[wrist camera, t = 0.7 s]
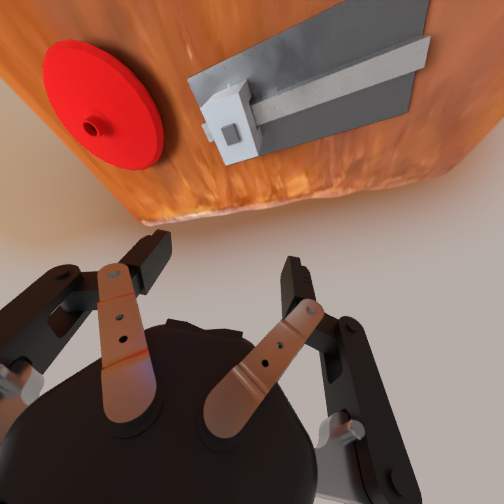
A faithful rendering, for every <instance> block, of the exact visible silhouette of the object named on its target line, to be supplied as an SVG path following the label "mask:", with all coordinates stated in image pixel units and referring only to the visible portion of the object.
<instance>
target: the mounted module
mask: <svg viewBox="0 0 504 504" xmlns="http://www.w3.org/2000/svg"><path fill="white" fill-rule="evenodd" d="M250 99H251V94H250V90H249V87H248V83H247V80H245V81H243V82H241V83H238V84H236V85H234V86H232V87H229V88H227V89H225V90H222V91H220V92H218V93H216V94H213V95H212V97H211V98H210V99H209V100H208V101H207V102H206V103H205V104H204V105H203V106H202V107H201V108H200V109H201V112H202V114H203V116H204V118H205V120H206V123H207V125H208V127H209V129H210V131H211V134H212V136H213V138H214V140H215V143H216V145H217V147H218V149H219V151H220V154H221V156H222V158H223V160H224V162H225V165H230V164H233V163H236V162H240V161H243V160H247V159H250V158H253V157H257V156H259V152H260V147H261V143H262V139H263V136H262V133H261V129H260V125H258V126H256V125H255V122H254V119H253V115H252V112H251V109H250V105H249V101H250Z"/></svg>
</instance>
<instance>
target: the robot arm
mask: <svg viewBox="0 0 504 504" xmlns="http://www.w3.org/2000/svg"><path fill="white" fill-rule="evenodd" d="M171 254H172V242H171V233H170V232H169V231H164V230H159V229H158V230H156V231H155V233H154V234H153V235H152V236H151V235H147V236H145V237H143V238H141V239H140V240H139V241H138V242H137V243H136V245H134V246H133V247H132V249H131V250H130V251H129V252H128V253H127V254H126V255H125V256H124V257H123V258H122V259H121V260H120V261H119V262H118V263H113V264H109V265H106V266H104V267H103V268H101V269H100V270H99V271H95V272H81V271H80V269H79V267H78V266H76V265H71V264H66V265H61V266H57V267H54V268H52V269H50V270H49V271H47V272H46V273H45V274H44V275H42V276H41V277H40V278H39V279H37V281H35V282H34V283H33V284H31V285H30V286H29V287H28V288H27V289H26V290H24V291H23V292H22V293H21V294H19V296H17V297H16V298H15V299H13V300H12V301H11V302H10V303H8V304H7V305H6V306H5V307H4V308H2V309H1V310H0V504H313V502H314V498H315V497H319V498H323V499H327V500H332V501H336V502H340V503H344V504H422V497H421V492H420V489H419V486H418V483H417V480H416V478H415V475H414V472H413V469H412V466H411V463H410V460H409V457H408V454H407V452H406V449H405V446H404V443H403V440H402V437H401V434H400V432H399V429H398V426H397V423H396V420H395V417H394V414H393V412H392V409H391V406H390V403H389V400H388V397H387V394H386V392H385V389H384V386H383V383H382V380H381V377H380V374H379V371H378V368H377V366H376V363H375V360H374V357H373V354H372V351H371V348H370V345H369V343H368V340H367V337H366V334H365V331H364V329H363V327H362V325H361V324H360V323H359V322H358V321H357V320H355V319H353V318H351V317H348V316H343V317H341V318H340V319H336V318H334V317H332V316H330V315H328V314H326V313H325V312H324V310H323V308H322V306H321V305H320V304H319V303H318V302H316V298H315V293H314V289H313V285H312V280H311V275H310V272H309V270H308V269H307V268H306V267H305V266H301V262H300V258H298V257H293V256H288V257H287V260H286V262H285V265H284V268H283V270H282V273H281V279H280V282H281V301H282V320H281V321H280V322H279V323H278V324H277V325H276V326H275V327H274V328H273V329H272V330H271V331H270V332H269V333H268V334H267V335H266V337H264V339H262V341H261V342H260V343H259V344H258V345H257V346H256V347H255V346H254V345H253V344H252V343H251V342H249V341H248V340H246V339H244V338H242V335H243V332H241V331H235V330H230V329H211V330H204V329H201V328H199V327H197V326H195V325H192V324H190V323H188V322H184V321H179V320H173V319H167V321H166V324H163V325H158V326H154V327H151V328H148V329H146V330H144V328H143V324H142V320H141V316H140V312H139V308H138V304H137V300H136V298H137V296H138V295H139V294H142V295H147V293H148V291H149V290H150V289H151V287H152V286H153V284H154V283H155V281H156V279H157V278H158V276H159V275H160V273H161V272H162V270H163V269H164V267H165V265H166V264H167V262H168V261H169V259H170V257H171ZM59 305H60V306H59ZM58 306H59V307H58ZM57 307H58V308H57ZM56 308H57V309H56ZM55 309H56V310H55ZM54 310H55V311H54ZM92 310H98V320H99V331H100V343H101V355H102V357H101V358H99V359H98V360H96V361H95V362H93V363H91V364H90V365H88V366H87V367H85V368H84V369H82V370H81V371H79V372H77V373H76V374H74V375H73V376H71V377H69V378H68V379H66V380H65V381H63V382H62V383H60V384H58V385H57V386H55V387H54V388H52V389H51V390H49V391H47V392H46V393H45V394H43V395H42V396H40V397H39V393H40V391H41V389H42V387H43V385H44V377H43V376H42V375H43V374H44V372H45V371H46V369H47V368H48V367H49V366H50V365H51V363H52V362H53V361H54V359H55V358H56V357H57V356H58V354H59V353H60V352H61V350H62V349H63V348H64V346H65V345H66V344H67V343H68V341H69V340H70V338H71V337H72V336H73V335H74V334H75V332H76V331H77V330H78V328H79V327H80V326H81V325H82V323H83V322H84V321H85V319H86V318H87V317H88V315H89V314H90V313H91V312H92ZM53 311H54V312H53ZM52 312H53V313H52ZM51 313H52V314H51ZM50 314H51V315H50ZM304 344H307V345H309V346H311V347H312V348H315V349H316V350H318V351H319V354H320V361H321V368H322V376H323V383H324V390H325V398H326V405H327V413H328V418H327V419H325V420H324V421H323V422H322V423H321V425H320V429H319V442H318V445H317V447H316V448H314V447H313V444H312V441H311V439H310V437H309V435H308V433H307V431H306V430H305V428H304V426H303V425H302V423H301V421H300V420H299V418H298V416H297V414H296V413H295V411H294V409H293V408H292V406H291V404H290V403H289V401H288V399H287V397H286V396H285V394H284V392H283V391H282V389H281V387H280V386H279V384H278V380H279V379H280V378H281V376H282V375H283V373H284V372H285V370H286V369H287V368H288V366H289V365H290V363H291V362H292V360H293V359H294V358H295V357H296V355H297V354H298V352H299V351H300V350H301V348H302V347H303V345H304ZM38 397H39V398H38Z"/></svg>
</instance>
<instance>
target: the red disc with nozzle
mask: <svg viewBox="0 0 504 504" xmlns="http://www.w3.org/2000/svg"><path fill="white" fill-rule="evenodd" d="M43 78H44V85H45V89H46V92H47V95H48V98H49V101H50V103H51V105H52V107H53V109H54V110H55V112H56V114H57V116H58V118H59V119H60V120H61V122H62V123H63V124H64V126H65V127H66V129H67V130H68V131H69V132H70V133H71V135H72V136H73V137H74V138H75V139H76V140H77V141H78V142H79V143H80V144H81V145H82V146H84V147H85V148H86V149H87V150H89V151H90V152H91V153H92V154H94V155H95V156H97V157H98V158H100V159H102V160H103V161H105V162H107V163H109V164H112V165H114V166H117V167H120V168H124V169H129V170H144V169H147V168H149V167H152V166H153V165H154V164H155V163H156V162H157V161H158V160H159V158H160V155H161V153H162V150H163V141H164V131H163V126H162V121H161V117H160V115H159V112H158V110H157V107H156V105H155V103H154V101H153V99H152V98H151V96H150V95H149V93H148V91H147V90H146V88H145V86H144V85H143V84H142V83H141V82H140V81H139V79H138V78H137V77H136V76H135V75H134V74H133V72H132V71H131V70H130V69H129V68H127V67H126V66H125V65H124V64H123V63H121V62H120V61H119V60H118V59H117V58H115V57H114V56H112V55H111V54H109V53H107V52H105V51H103V50H101V49H99V48H97V47H95V46H93V45H91V44H89V43H84V42H79V41H75V40H66V41H61V42H56V43H55V44H54V45H53V46H52V47H51V48H50V49H49V50H48V51H47V52H46V55H45V58H44V62H43Z"/></svg>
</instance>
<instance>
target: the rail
mask: <svg viewBox="0 0 504 504" xmlns="http://www.w3.org/2000/svg"><path fill="white" fill-rule="evenodd" d="M428 3H429V0H345V1H343V2H341V3H339V4H337V5H335V6H333V7H331V8H329V9H327V10H325V11H323V12H321V13H319V14H317V15H315V16H313V17H311V18H309V19H307V20H305V21H303V22H301V23H299V24H297V25H295V26H293V27H291V28H289V29H287V30H285V31H283V32H281V33H279V34H277V35H275V36H273V37H271V38H269V39H267V40H265V41H263V42H260V43H258V44H256V45H254V46H252V47H250V48H248V49H246V50H244V51H242V52H240V53H238V54H236V55H234V56H232V57H230V58H228V59H226V60H224V61H222V62H220V63H218V64H216V65H214V66H212V67H210V68H208V69H206V70H204V71H202V72H200V73H198V74H196V75H194V76H192V77H190V78H188V79H187V80H188V83H189V85H190V87H191V89H192V92H193V94H194V96H195V98H196V100H197V103H198V105H199V107H200V108H201V107H202V106H203V105H204V104H205V103H206V102H207V101H208V100H209V99H210V98H211V97H212V95H213V94H216V93H218V92H220V91H222V90H225V89H227V88H229V87H232V86H234V85H236V84H238V83H241V82H243V81H245V80H247V83H248V87H249V90H250V94H251V99H250V101H249V105H250V109H251V112H252V115H253V119H254V122H255V125H256V126H258V125H260V129H261V133H262V136H263V139H262V143H261V147H260V152H259V156H261V155H265V154H268V153H272V152H275V151H278V150H282V149H285V148H289V147H292V146H296V145H299V144H302V143H306V142H309V141H313V140H316V139H319V138H323V137H326V136H330V135H333V134H336V133H340V132H343V131H347V130H350V129H354V128H357V127H360V126H364V125H367V124H371V123H374V122H377V121H381V120H384V119H388V118H391V117H395V116H398V115H401V114H405V113H407V112H408V107H409V102H410V97H411V91H412V86H413V81H414V76H415V71H416V70H419V69H421V68H424V66H425V61H426V57H427V52H428V47H429V43H430V38H431V35H426V34H423V29H424V24H425V19H426V14H427V8H428ZM202 127H203V129H204V132H205V134H206V136H207V138H208V140H209V142H212V141H215V140H214V138H213V136H212V134H211V131H210V129H209V127H208V125H207V123H206V120H205V121H204V122H203V123H202ZM257 157H258V156H257ZM253 158H255V157H253ZM250 159H251V158H250ZM247 160H248V159H247ZM243 161H244V160H243ZM240 162H241V161H240ZM236 163H237V162H236ZM233 164H234V163H233ZM230 165H231V164H230ZM226 166H227V165H226Z"/></svg>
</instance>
